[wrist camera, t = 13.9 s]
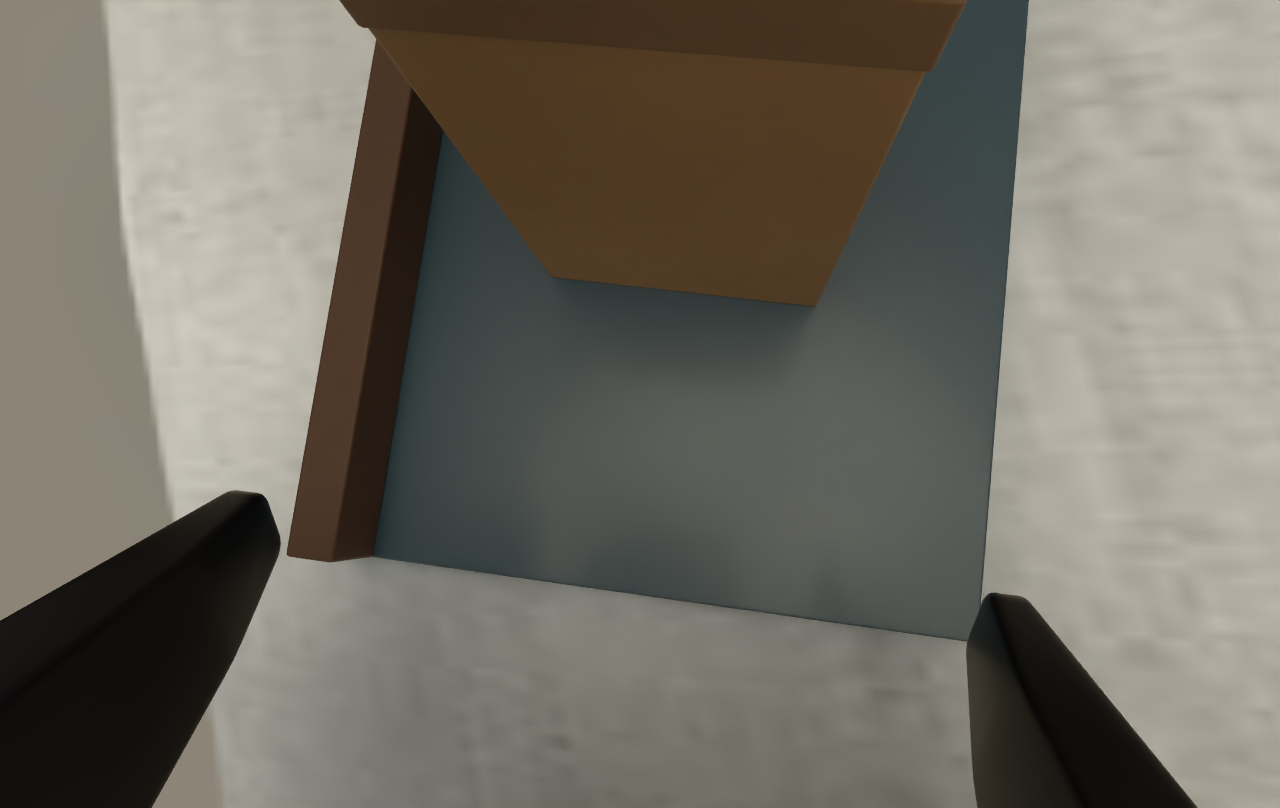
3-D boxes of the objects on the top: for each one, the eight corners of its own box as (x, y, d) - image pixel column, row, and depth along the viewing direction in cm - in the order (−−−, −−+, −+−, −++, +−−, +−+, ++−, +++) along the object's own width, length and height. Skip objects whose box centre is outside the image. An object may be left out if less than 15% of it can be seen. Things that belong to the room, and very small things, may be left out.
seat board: (964, 635, 18) (1012, 660, 15) (351, 549, 19) (284, 556, 16) (1031, -199, 20) (1085, -321, 17) (477, -216, 22) (439, -330, 19)
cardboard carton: (819, 310, 18) (1058, -177, 5) (547, 279, 19) (171, -218, 6) (845, 90, 19) (1117, -838, 6) (581, 68, 19) (301, -802, 6)
